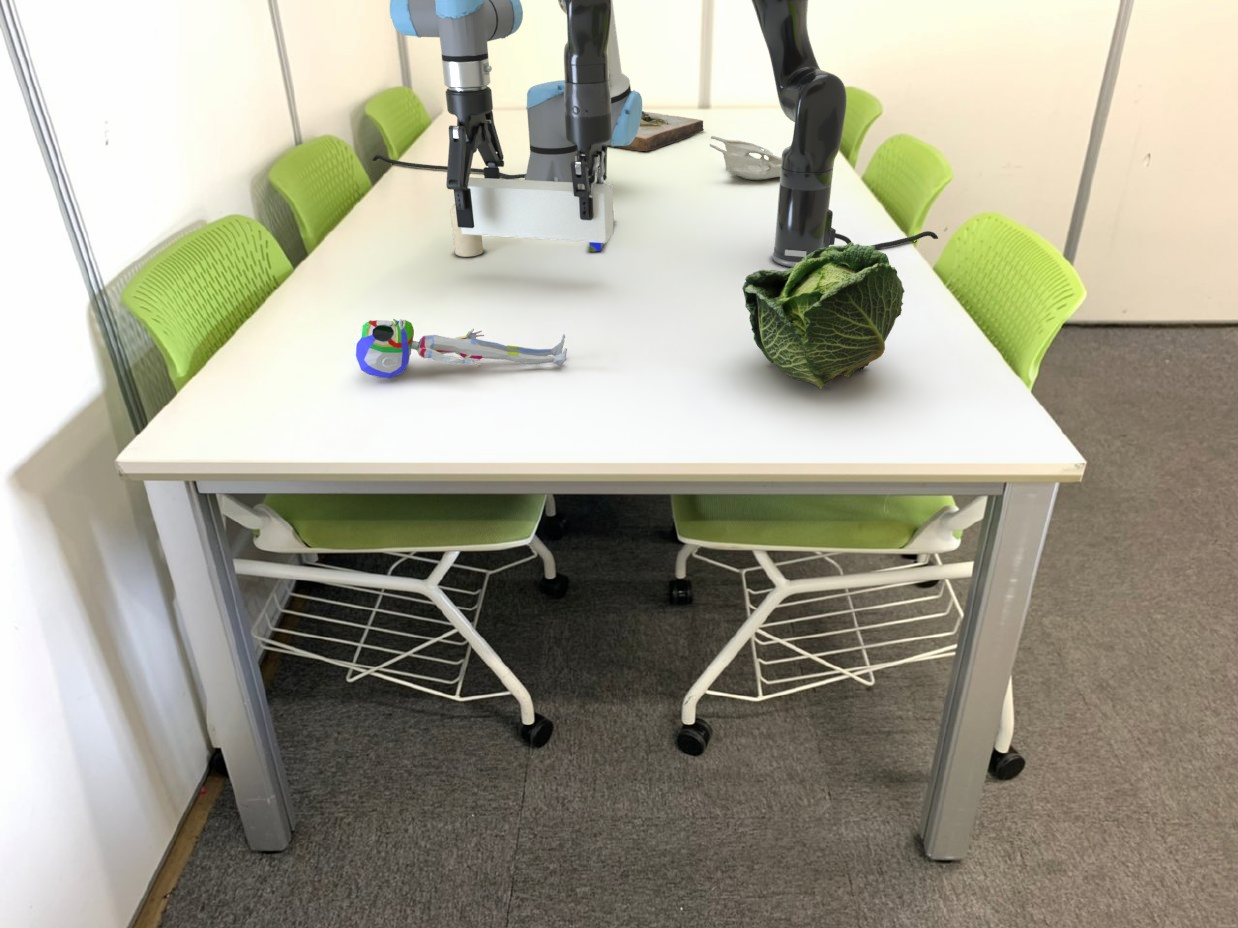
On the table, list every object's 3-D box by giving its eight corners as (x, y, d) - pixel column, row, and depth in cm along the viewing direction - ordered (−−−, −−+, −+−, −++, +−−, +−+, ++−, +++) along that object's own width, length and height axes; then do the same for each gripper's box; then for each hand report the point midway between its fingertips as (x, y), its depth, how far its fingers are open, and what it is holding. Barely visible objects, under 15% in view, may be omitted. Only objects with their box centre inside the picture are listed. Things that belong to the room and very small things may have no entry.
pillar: (613, 210, 190) (600, 241, 173) (613, 220, 191) (600, 251, 174) (603, 210, 190) (589, 240, 173) (603, 220, 191) (589, 251, 174)
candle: (488, 249, 176) (483, 198, 171) (475, 258, 172) (470, 206, 167) (463, 246, 178) (457, 196, 173) (450, 255, 174) (443, 204, 168)
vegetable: (774, 398, 137) (714, 287, 129) (876, 327, 138) (822, 213, 130) (838, 431, 119) (772, 304, 111) (955, 349, 120) (897, 218, 112)
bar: (461, 234, 159) (456, 185, 154) (473, 224, 163) (468, 177, 158) (605, 243, 153) (604, 193, 148) (613, 233, 157) (612, 184, 153)
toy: (569, 347, 126) (349, 329, 122) (563, 400, 131) (350, 385, 126) (565, 318, 135) (359, 301, 130) (559, 369, 139) (360, 354, 134)
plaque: (647, 125, 237) (559, 112, 252) (647, 153, 241) (560, 139, 256) (706, 107, 258) (622, 97, 273) (705, 133, 262) (622, 121, 277)
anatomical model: (711, 132, 222) (813, 131, 218) (711, 170, 227) (811, 169, 223) (707, 147, 210) (815, 146, 206) (707, 186, 215) (813, 186, 211)
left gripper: (459, 102, 136) (474, 239, 148) (515, 75, 157) (524, 196, 168) (414, 101, 138) (432, 236, 149) (475, 73, 158) (486, 194, 170)
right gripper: (598, 120, 138) (601, 228, 147) (621, 102, 150) (623, 203, 159) (551, 118, 139) (558, 226, 149) (578, 101, 151) (582, 201, 160)
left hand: (480, 215), depth 159 cm, fingers open, 13 cm apart
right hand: (591, 214), depth 154 cm, fingers closed on bar, 5 cm apart
